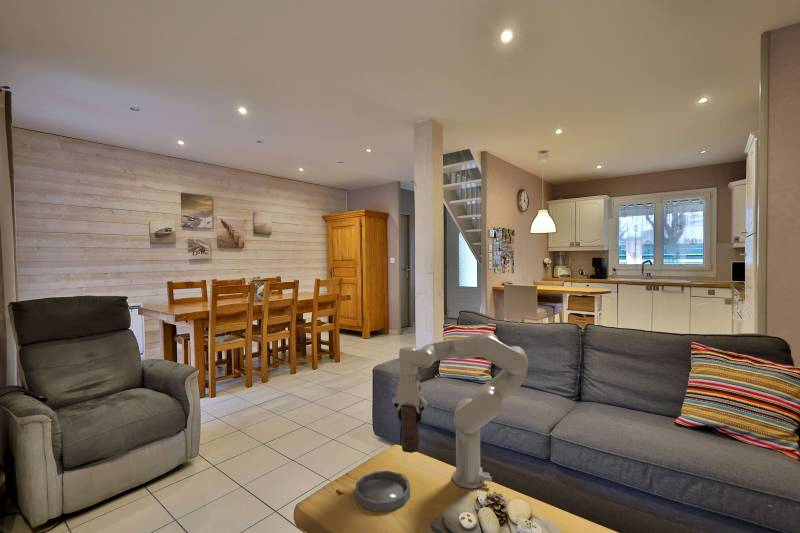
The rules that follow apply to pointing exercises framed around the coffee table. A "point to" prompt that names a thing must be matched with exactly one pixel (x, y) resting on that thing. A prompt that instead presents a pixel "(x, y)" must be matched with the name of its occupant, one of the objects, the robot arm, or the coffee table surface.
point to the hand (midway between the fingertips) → (409, 420)
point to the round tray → (382, 491)
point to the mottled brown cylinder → (409, 429)
